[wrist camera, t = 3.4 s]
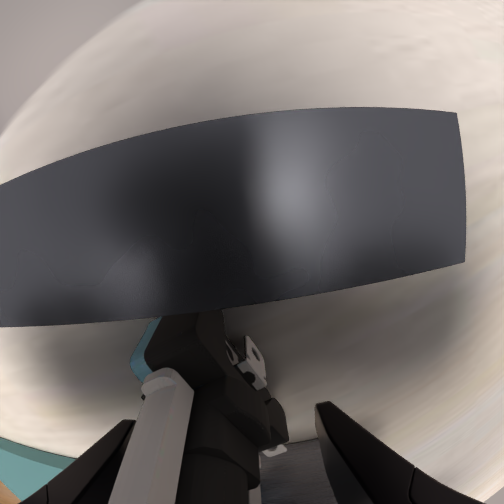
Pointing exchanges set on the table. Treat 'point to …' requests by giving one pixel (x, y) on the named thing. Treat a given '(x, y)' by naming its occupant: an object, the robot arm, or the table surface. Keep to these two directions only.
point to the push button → (198, 417)
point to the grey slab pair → (235, 226)
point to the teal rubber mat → (28, 467)
